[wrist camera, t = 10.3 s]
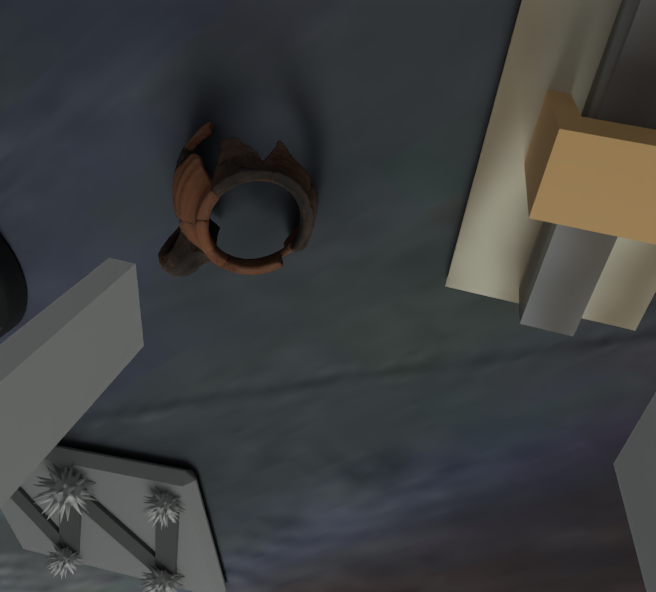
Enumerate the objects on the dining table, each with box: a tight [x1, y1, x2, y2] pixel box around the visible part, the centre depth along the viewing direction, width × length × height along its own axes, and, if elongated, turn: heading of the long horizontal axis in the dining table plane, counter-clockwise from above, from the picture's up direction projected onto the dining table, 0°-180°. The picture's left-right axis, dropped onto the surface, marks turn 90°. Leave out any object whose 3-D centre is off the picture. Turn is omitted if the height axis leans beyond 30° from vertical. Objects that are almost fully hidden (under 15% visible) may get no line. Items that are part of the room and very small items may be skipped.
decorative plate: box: [1, 445, 227, 592], centre depth 62 cm, size 30×22×7 cm
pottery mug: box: [158, 122, 318, 276], centre depth 36 cm, size 12×10×8 cm
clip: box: [524, 90, 656, 245], centre depth 26 cm, size 7×4×8 cm, turn 84°
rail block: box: [446, 0, 656, 336], centre depth 28 cm, size 12×22×5 cm, turn 174°
